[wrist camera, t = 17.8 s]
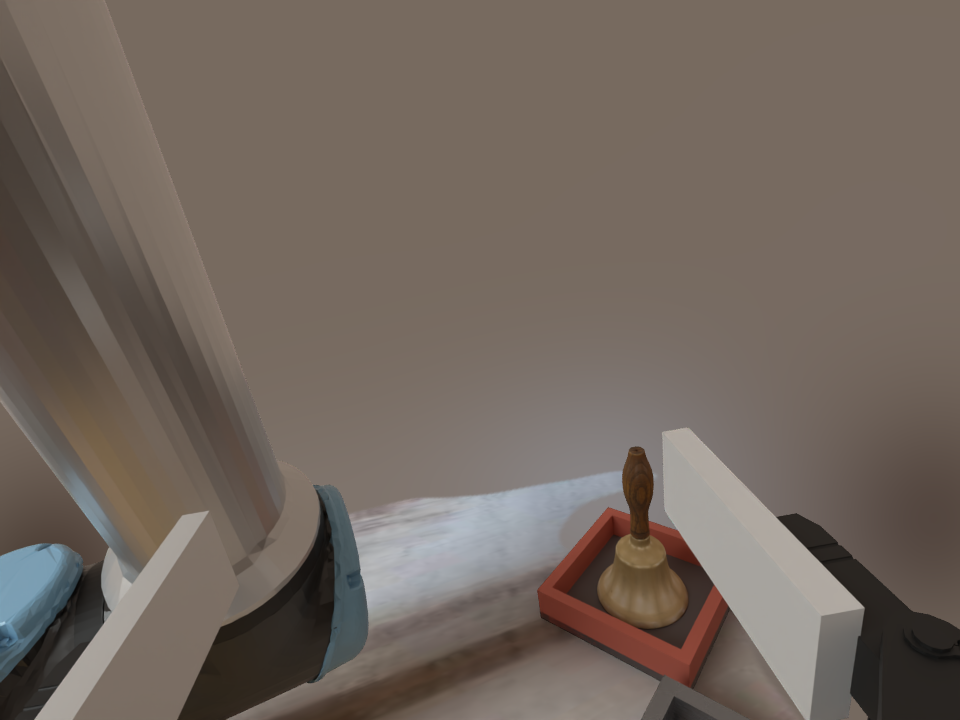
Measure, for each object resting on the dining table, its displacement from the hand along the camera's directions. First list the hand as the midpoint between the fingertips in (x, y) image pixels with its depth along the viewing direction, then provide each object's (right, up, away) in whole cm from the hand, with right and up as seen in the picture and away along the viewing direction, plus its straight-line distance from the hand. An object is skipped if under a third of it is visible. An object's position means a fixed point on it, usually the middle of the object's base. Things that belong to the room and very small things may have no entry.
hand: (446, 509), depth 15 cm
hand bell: (+16, -18, +35) cm, 42 cm away
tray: (+17, -19, +35) cm, 43 cm away
